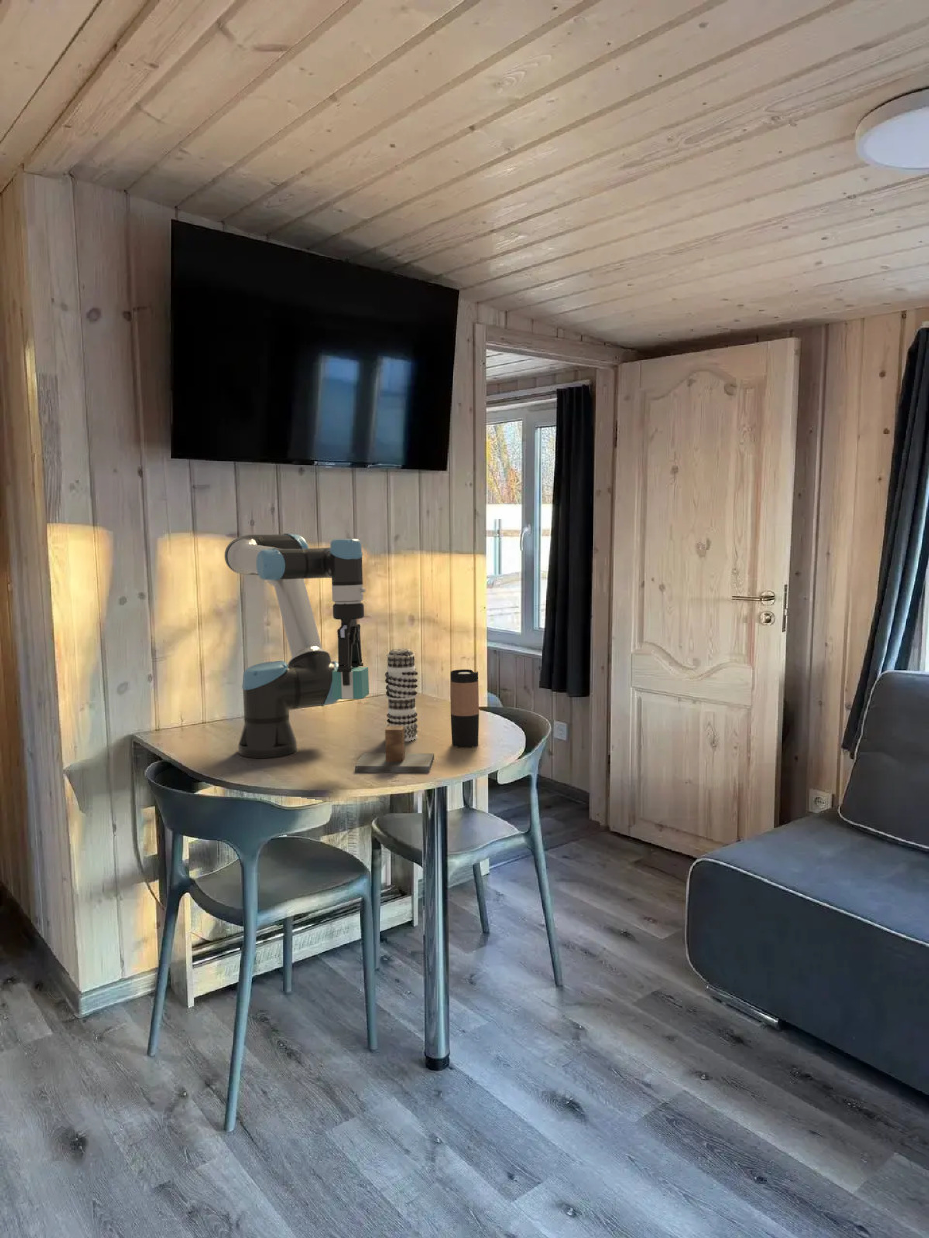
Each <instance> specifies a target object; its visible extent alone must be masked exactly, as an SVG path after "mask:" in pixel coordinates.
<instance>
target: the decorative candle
mask: <svg viewBox="0 0 929 1238" xmlns="http://www.w3.org/2000/svg"><path fill="white" fill-rule="evenodd" d="M415 656H416V654H415V653H413V651H412V650H411V649H409V648H393V649H391V650H390V651H389V652H388V654H387V655H386V657H387V665H386V672H385V674H384V677H385V679H384V682H385V683H386V684H387V685H385V690H386V692H385V694H386V698H387V700H388V704H387V705H388V706H387V714H386V717H387V719H386V722H387V723H388V724H387V725H386V727H387V726H404V729H405V742H411V740H412V741H415V740H417V739H418V735H417V734H418V731H419V730H418V729H417V728H418V727H419V726H418V724H417V721H418V719H417V716H418V713H417V706H416V698H418V695H417V694H418V692H417V691H416V690H415V689H417V688H418V684H416V683H417V682H418V679H417V678H415V676H417V675H418V674H419V673H418V671H416V670H417V668H416V664H415ZM414 739H415V740H414Z"/></svg>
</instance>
